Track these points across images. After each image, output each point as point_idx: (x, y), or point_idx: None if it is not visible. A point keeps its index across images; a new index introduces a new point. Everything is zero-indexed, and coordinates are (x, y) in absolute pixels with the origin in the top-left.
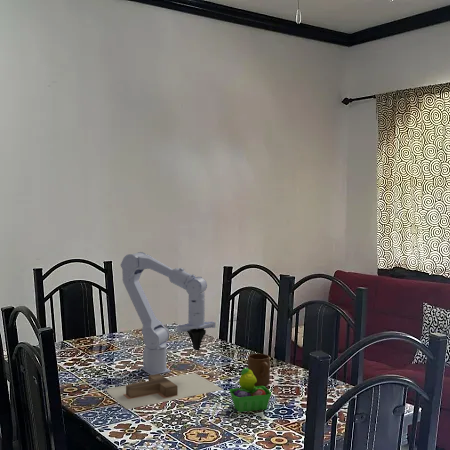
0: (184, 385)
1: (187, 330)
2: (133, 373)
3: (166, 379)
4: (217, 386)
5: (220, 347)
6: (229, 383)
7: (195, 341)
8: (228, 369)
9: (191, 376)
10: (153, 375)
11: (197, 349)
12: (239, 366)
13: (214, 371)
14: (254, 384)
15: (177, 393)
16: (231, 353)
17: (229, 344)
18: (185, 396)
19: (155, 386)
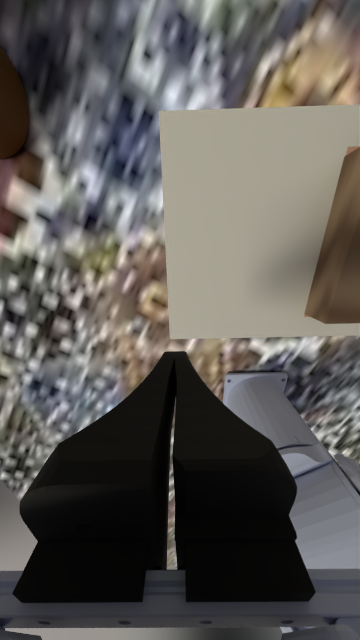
0: (260, 246)
1: (358, 581)
2: (307, 403)
3: (354, 248)
4: (164, 165)
5: (30, 466)
6: (106, 179)
7: (204, 384)
8: (60, 321)
9: (194, 315)
10: (353, 316)
11: (177, 353)
12: (16, 330)
13: (109, 325)
14: (3, 50)
15: (349, 153)
16: (13, 426)
17: (3, 474)
18: (335, 114)
19: None
